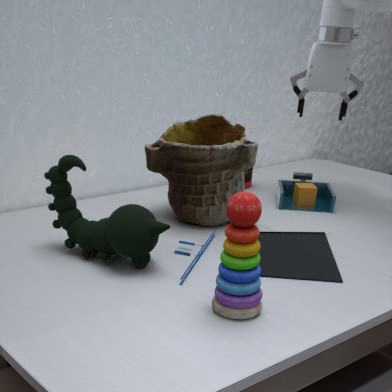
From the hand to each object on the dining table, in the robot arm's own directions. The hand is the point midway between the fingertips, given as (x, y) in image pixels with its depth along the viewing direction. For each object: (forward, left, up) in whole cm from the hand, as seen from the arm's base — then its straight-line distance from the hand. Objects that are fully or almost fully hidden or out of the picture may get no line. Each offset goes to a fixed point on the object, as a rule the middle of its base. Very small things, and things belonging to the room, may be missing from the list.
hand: (320, 118), depth 124 cm
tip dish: (+2, +7, -19) cm, 21 cm away
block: (+2, +9, -19) cm, 21 cm away
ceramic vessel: (+28, +23, -20) cm, 41 cm away
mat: (+8, +36, -19) cm, 42 cm away
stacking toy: (+18, +66, -20) cm, 71 cm away
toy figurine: (+42, +50, -20) cm, 68 cm away
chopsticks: (+28, +46, -20) cm, 57 cm away
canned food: (+19, -4, -20) cm, 28 cm away
